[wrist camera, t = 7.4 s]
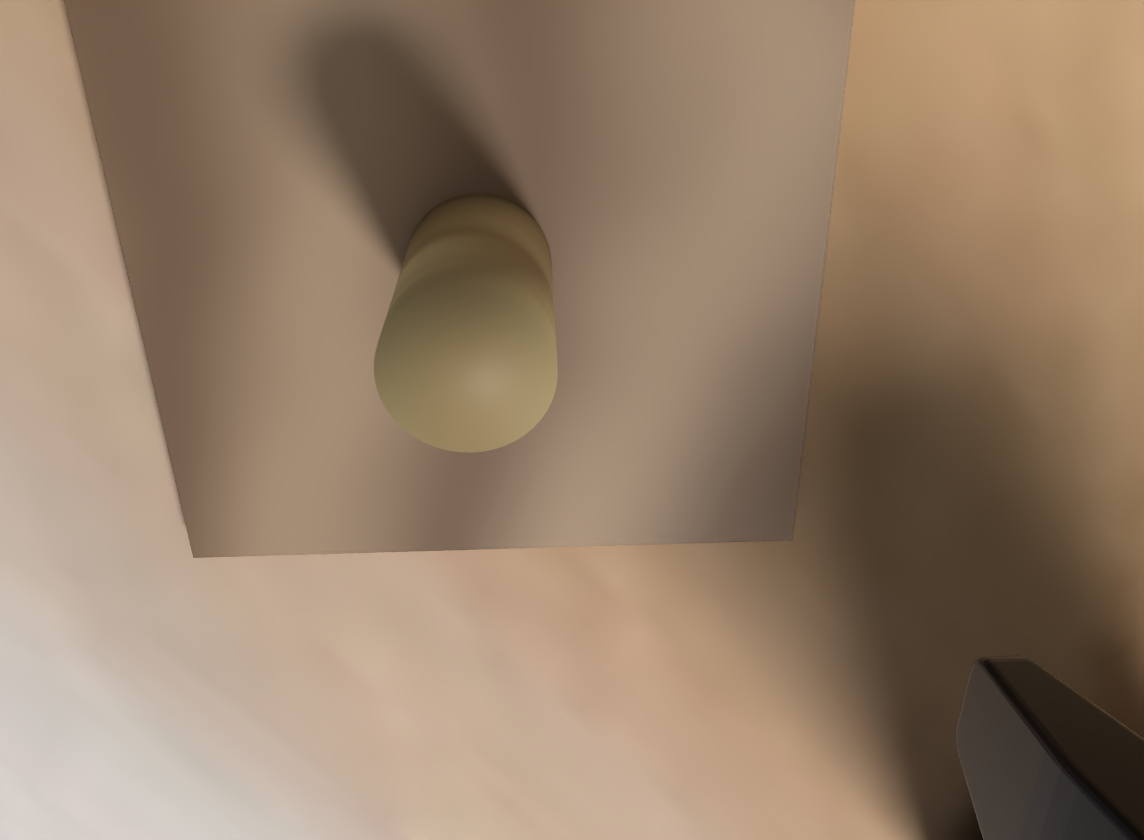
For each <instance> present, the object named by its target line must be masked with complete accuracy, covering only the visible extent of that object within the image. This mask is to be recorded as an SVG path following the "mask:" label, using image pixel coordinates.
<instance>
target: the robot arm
mask: <svg viewBox="0 0 1144 840" xmlns="http://www.w3.org/2000/svg"><path fill="white" fill-rule="evenodd" d="M956 740H957V749H958V754H959V758H960V762H961V765H962V769H963V772H964V776H965V779H966V782H967V786H968V789H969V793H970V796H971V799H972V803H973V806H974V809H975V813H976V816H977V820H978V823H979V826H980V830H981V833H982V837H983V840H1144V739H1143V738H1142V737H1141V736H1139V735H1138V734H1136V733H1135V732H1134V731H1132V730H1131V729H1129V728H1128V727H1126V726H1125V725H1124V724H1122V723H1121V722H1119V721H1118V720H1117V719H1115V718H1114V717H1112V716H1111V715H1109V714H1108V713H1107V712H1105V711H1104V710H1102V709H1101V708H1099V707H1098V706H1097V705H1095V704H1094V703H1092V702H1091V701H1090V700H1088V699H1087V698H1085V697H1084V696H1082V695H1081V694H1080V693H1078V692H1077V691H1075V690H1074V689H1073V688H1071V687H1070V686H1068V685H1067V684H1065V683H1064V682H1063V681H1061V680H1060V679H1058V678H1057V677H1056V676H1054V675H1053V674H1051V673H1050V672H1048V671H1047V670H1046V669H1044V668H1043V667H1041V666H1040V665H1038V664H1037V663H1036V662H1034V661H1032V660H1031V659H1029V658H1026V657H1022V656H994V657H982V658H980V659H978V660H976V661H975V663H974V664H973V665H972V668H971V671H970V674H969V678H968V682H967V686H966V691H965V695H964V699H963V703H962V707H961V711H960V716H959V720H958V724H957V732H956Z"/></svg>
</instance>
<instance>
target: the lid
mask: <svg viewBox="0 0 1144 840" xmlns="http://www.w3.org/2000/svg"><path fill="white" fill-rule="evenodd" d="M64 1H65V6H66V10H67V14H68V19H69V23H70V27H71V31H72V36H73V40H74V44H75V49H76V53H77V57H78V62H79V66H80V70H81V75H82V79H83V83H84V88H85V92H86V96H87V101H88V105H89V109H90V114H91V118H92V122H93V127H94V131H95V135H96V139H97V144H98V148H99V152H100V157H101V161H102V165H103V170H104V174H105V178H106V183H107V187H108V191H109V196H110V200H111V204H112V209H113V213H114V217H115V222H116V226H117V230H118V234H119V239H120V243H121V247H122V252H123V256H124V260H125V265H126V269H127V273H128V278H129V282H130V286H131V291H132V295H133V299H134V304H135V308H136V312H137V317H138V321H139V325H140V329H141V334H142V338H143V342H144V347H145V351H146V355H147V360H148V364H149V368H150V373H151V377H152V381H153V386H154V390H155V394H156V399H157V403H158V407H159V412H160V416H161V420H162V425H163V429H164V433H165V437H166V442H167V446H168V450H169V455H170V459H171V463H172V468H173V472H174V476H175V481H176V485H177V489H178V494H179V498H180V502H181V507H182V511H183V515H184V520H185V524H186V528H187V532H188V537H189V541H190V545H191V550H192V554H193V558H203V557H237V556H271V555H305V554H339V553H374V552H408V551H442V550H476V549H510V548H544V547H578V546H612V545H647V544H681V543H715V542H749V541H783V540H792V538H793V529H794V521H795V512H796V504H797V495H798V487H799V478H800V469H801V461H802V452H803V444H804V435H805V426H806V418H807V409H808V401H809V392H810V384H811V375H812V366H813V358H814V349H815V341H816V332H817V323H818V315H819V306H820V298H821V289H822V281H823V272H824V263H825V255H826V246H827V238H828V229H829V220H830V212H831V203H832V195H833V186H834V178H835V169H836V160H837V152H838V143H839V135H840V126H841V118H842V109H843V100H844V92H845V83H846V75H847V66H848V57H849V49H850V40H851V32H852V23H853V15H854V6H855V0H64Z"/></svg>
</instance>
